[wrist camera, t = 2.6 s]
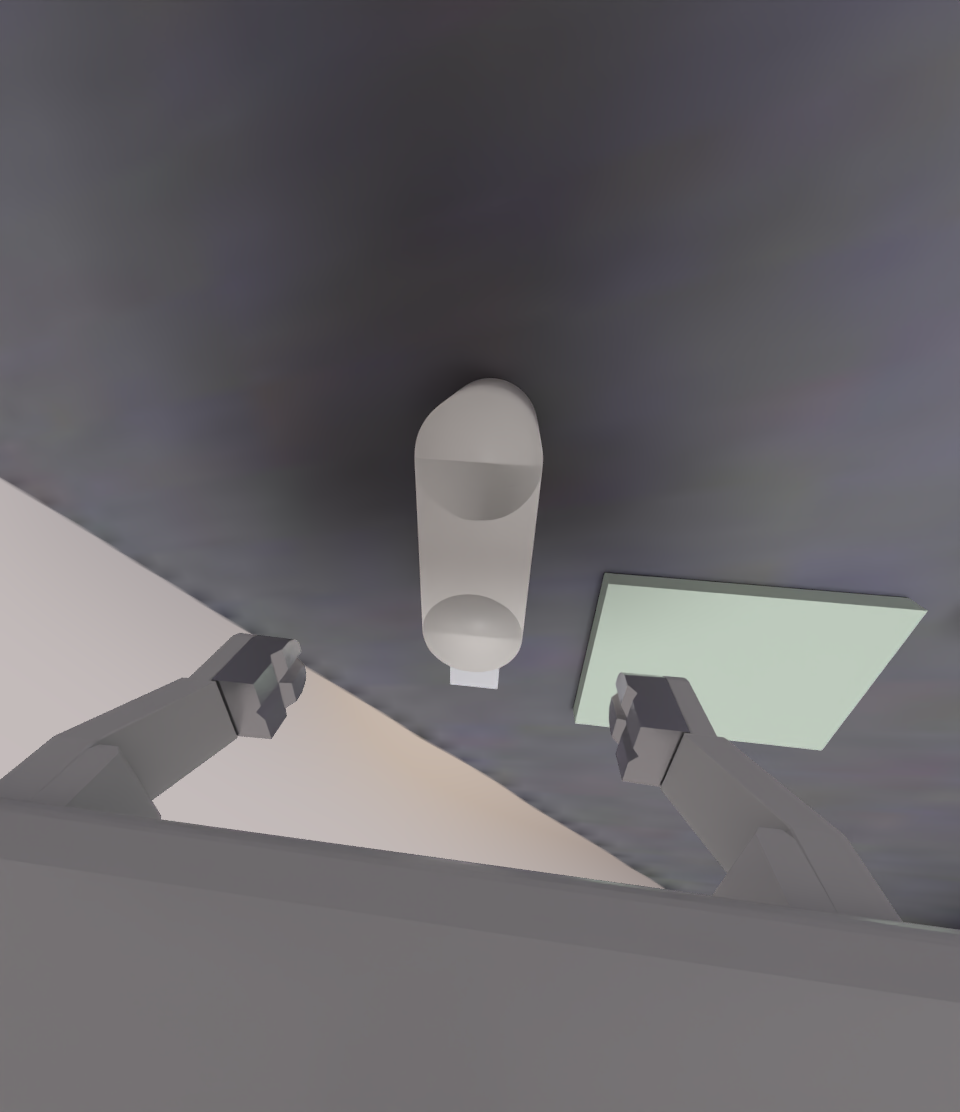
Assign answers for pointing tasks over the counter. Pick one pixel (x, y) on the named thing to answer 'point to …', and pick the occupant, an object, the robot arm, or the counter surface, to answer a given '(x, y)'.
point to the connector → (477, 526)
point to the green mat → (745, 652)
